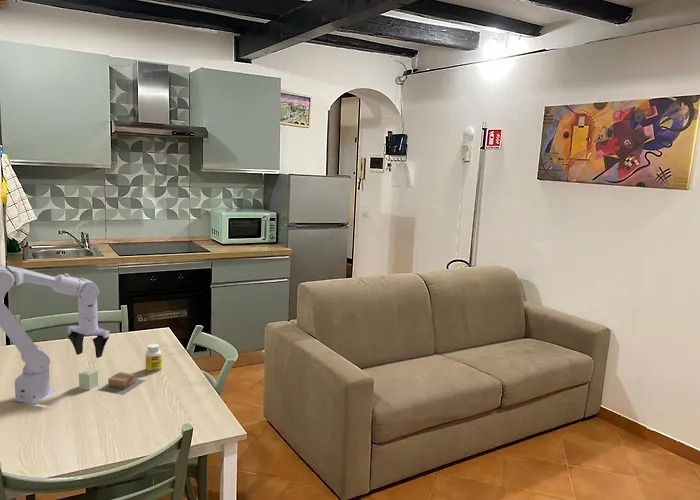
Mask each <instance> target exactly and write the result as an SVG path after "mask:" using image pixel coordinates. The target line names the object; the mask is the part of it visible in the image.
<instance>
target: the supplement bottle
mask: <svg viewBox="0 0 700 500" xmlns="http://www.w3.org/2000/svg"><path fill="white" fill-rule="evenodd" d="M145 371H146V373H150V374H151V373H152V374H153V373H158V372H160V371H162V351H161V349H160V344H158V343H151V344H148V345H147V351H146V352H145Z"/></svg>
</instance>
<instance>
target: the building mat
mask: <svg viewBox="0 0 700 500" xmlns="http://www.w3.org/2000/svg"><path fill="white" fill-rule="evenodd" d="M144 382H146V380H145V379H141V378H135V384H133V385H131V386H130V387H128V388H127V389H125V390H121V389H116V388H110V387H108V383H107V384H105V385H103V386H102V387H99V388H98V389H97V391H100V392H105V393H111V394H118V395H123V396H124V395H126V394H127V393H129V392H130V391H132V390H133V389H135V388H136V387H138V386H140V385H141V384H143V383H144Z"/></svg>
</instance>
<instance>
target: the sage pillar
mask: <svg viewBox="0 0 700 500" xmlns="http://www.w3.org/2000/svg"><path fill="white" fill-rule="evenodd" d="M98 371H99V370H97V369H92V368H91V369H90V368H86V369H84V370H82V371H80V372H79V373H78V383H79V384H78V385H79V386H78V387H79V390H86V391H92V390H93V389H95V388H96V387H99V374H98V373H99V372H98Z"/></svg>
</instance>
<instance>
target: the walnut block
mask: <svg viewBox="0 0 700 500" xmlns="http://www.w3.org/2000/svg"><path fill="white" fill-rule="evenodd" d="M107 379H108V381H107V382H108V383H107V384H108V387H110V388H116V389H121V390H125V389H127V388H128V387H130V386H131V385H133V384H135V379H136V374H133V373H128V372H121V371H120V372H118V373H116V374H114V375H112V376H111V377H109V378H107Z"/></svg>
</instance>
